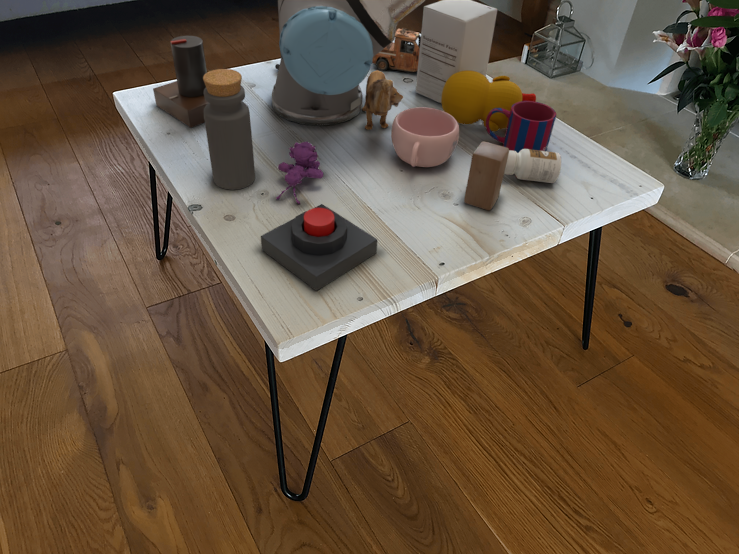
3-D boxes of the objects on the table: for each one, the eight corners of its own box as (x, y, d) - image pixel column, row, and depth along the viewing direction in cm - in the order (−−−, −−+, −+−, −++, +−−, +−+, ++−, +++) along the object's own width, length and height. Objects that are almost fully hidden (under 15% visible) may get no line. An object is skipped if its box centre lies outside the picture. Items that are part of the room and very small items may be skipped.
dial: (203, 82, 101) (196, 31, 95) (213, 93, 98) (206, 42, 92) (174, 87, 99) (165, 36, 93) (184, 99, 96) (175, 47, 90)
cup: (541, 166, 92) (553, 125, 87) (477, 151, 94) (485, 111, 90) (548, 145, 97) (559, 106, 92) (486, 132, 99) (494, 93, 94)
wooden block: (462, 203, 84) (472, 152, 78) (472, 189, 86) (481, 139, 81) (490, 212, 82) (501, 161, 77) (499, 197, 85) (510, 147, 80)
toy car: (372, 58, 119) (374, 22, 114) (433, 64, 118) (437, 28, 114) (368, 71, 114) (370, 34, 109) (432, 77, 113) (436, 40, 109)
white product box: (445, 78, 113) (456, -7, 103) (483, 94, 109) (500, 8, 99) (413, 92, 108) (422, 4, 98) (452, 110, 104) (466, 20, 94)
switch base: (261, 249, 74) (259, 223, 72) (321, 217, 80) (321, 191, 77) (316, 291, 69) (316, 264, 67) (376, 253, 75) (378, 227, 72)
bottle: (220, 194, 82) (206, 89, 72) (208, 172, 86) (192, 70, 76) (261, 184, 85) (252, 82, 75) (247, 163, 88) (237, 63, 78)
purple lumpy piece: (332, 142, 84) (312, 163, 78) (329, 184, 88) (310, 207, 81) (287, 133, 85) (264, 153, 79) (286, 175, 89) (264, 197, 82)
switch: (297, 227, 72) (297, 215, 71) (320, 215, 74) (320, 203, 73) (318, 241, 70) (318, 229, 69) (340, 228, 72) (340, 217, 71)
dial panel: (156, 105, 100) (152, 87, 98) (202, 90, 105) (199, 72, 103) (190, 128, 95) (187, 109, 93) (237, 110, 100) (235, 92, 98)
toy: (533, 93, 102) (446, 75, 103) (545, 74, 94) (450, 55, 94) (521, 145, 102) (434, 127, 103) (533, 131, 93) (437, 111, 94)
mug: (399, 135, 97) (402, 100, 93) (460, 147, 95) (466, 113, 91) (377, 173, 88) (379, 137, 84) (444, 188, 86) (449, 151, 82)
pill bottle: (564, 151, 85) (510, 144, 85) (559, 182, 86) (505, 176, 85) (553, 154, 90) (502, 148, 89) (549, 184, 90) (498, 178, 90)
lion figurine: (401, 139, 96) (406, 85, 90) (368, 141, 95) (371, 86, 89) (382, 97, 106) (385, 46, 100) (352, 98, 106) (353, 47, 99)
